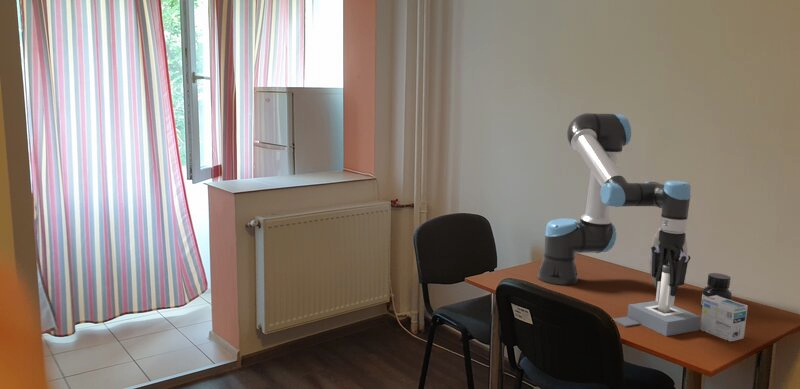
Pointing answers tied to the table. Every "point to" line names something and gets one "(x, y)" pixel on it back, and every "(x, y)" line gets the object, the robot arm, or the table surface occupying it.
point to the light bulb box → (723, 318)
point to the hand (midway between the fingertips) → (664, 302)
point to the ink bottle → (717, 286)
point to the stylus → (664, 289)
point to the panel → (664, 318)
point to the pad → (626, 321)
